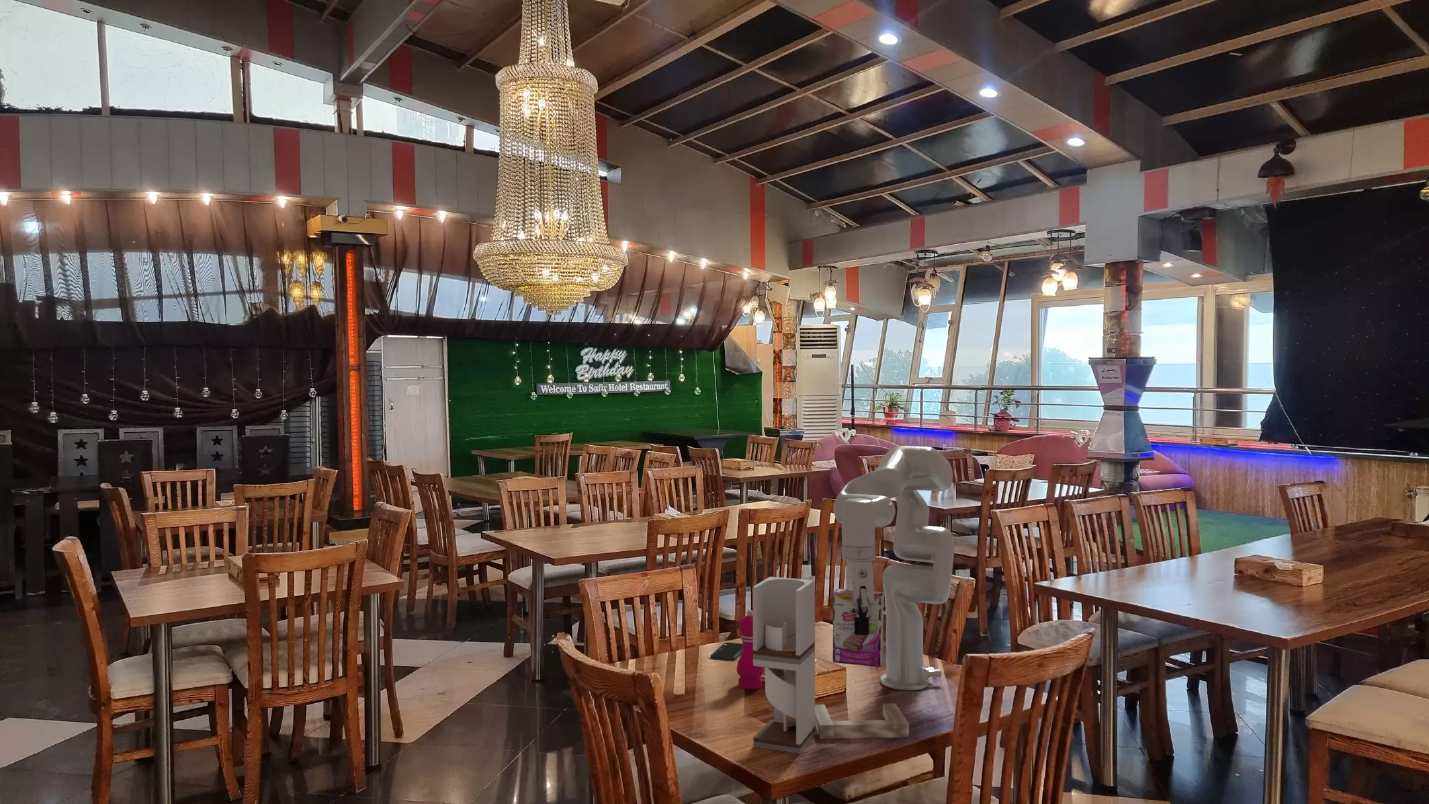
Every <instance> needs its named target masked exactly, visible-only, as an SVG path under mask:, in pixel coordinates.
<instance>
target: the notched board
mask: <svg viewBox="0 0 1429 804" xmlns="http://www.w3.org/2000/svg"><path fill="white" fill-rule="evenodd" d="M882 717H883V719H871V720H864V719H863V720H862V719H861V720H859V719H858V720H832V719H831V716H830V714H829V712H828V710H827V708H826V705H825V704H815V730H816V731H817V734H818V736H819V739H821V740H823V739H826V740H827V739H875V738H876V739H878V738H880V739H881V738H883V739H885V738H888V739H889V738H910V723H909V722H908V720H907V718H906V717H905V715H904V714H903V713H902V711H901V709H900V708H899V706H898V704H897V703H882Z"/></svg>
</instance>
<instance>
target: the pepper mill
mask: <svg viewBox="0 0 1429 804" xmlns="http://www.w3.org/2000/svg"><path fill="white" fill-rule="evenodd" d="M738 629H739V631H740V632H741V634H740V640H741V641H742V644H743V650H742V654H741V656H740V657H739V658H738V661H737V664H736V672H737V674H738V676H739V677H738V687H739V688H741V689H745V690H757V689H760V688H762V686H763V679H762V675H763V674H764V672H765V667H761V666H753V609H752V610H751V609H748V610H747V611H746V615H744V616H743V617H741V619H740V620H739V622H738Z"/></svg>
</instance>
